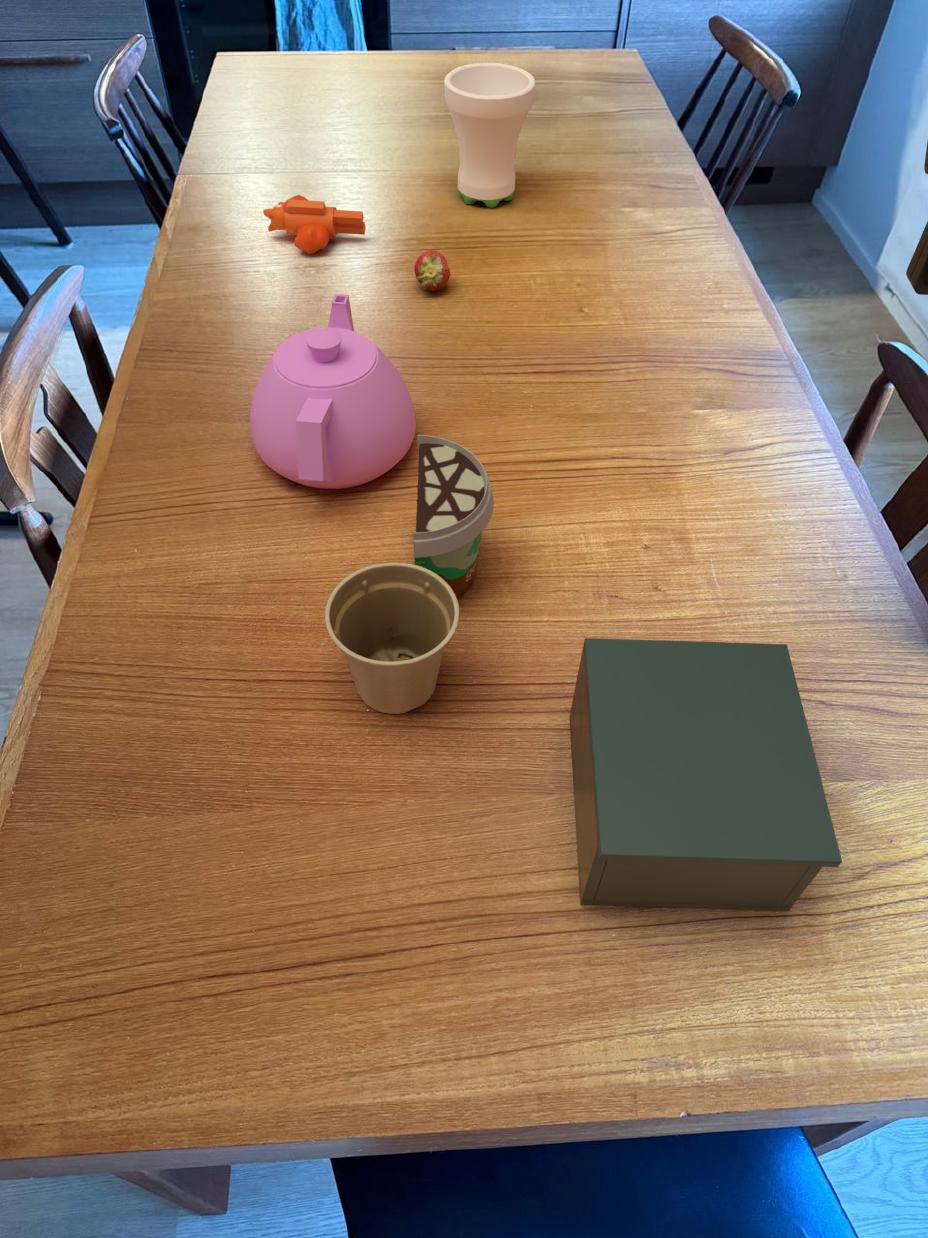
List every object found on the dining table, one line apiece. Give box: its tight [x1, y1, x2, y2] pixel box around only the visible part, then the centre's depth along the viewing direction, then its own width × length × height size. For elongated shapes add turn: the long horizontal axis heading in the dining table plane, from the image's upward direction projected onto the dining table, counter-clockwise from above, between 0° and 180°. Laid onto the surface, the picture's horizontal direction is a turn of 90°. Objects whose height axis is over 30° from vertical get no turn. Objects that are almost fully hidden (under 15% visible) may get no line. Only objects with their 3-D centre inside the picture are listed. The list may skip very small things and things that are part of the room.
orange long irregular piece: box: [262, 194, 366, 255], centre depth 110 cm, size 5×8×12 cm
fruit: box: [413, 249, 451, 292], centre depth 104 cm, size 4×6×5 cm
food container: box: [412, 434, 495, 600], centre depth 73 cm, size 12×6×10 cm, turn 0°
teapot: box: [249, 293, 417, 490], centre depth 82 cm, size 22×16×12 cm
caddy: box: [569, 645, 823, 912], centre depth 60 cm, size 15×14×9 cm
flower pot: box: [324, 561, 460, 715], centre depth 66 cm, size 9×9×9 cm
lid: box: [583, 637, 843, 868], centre depth 56 cm, size 16×14×1 cm
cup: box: [443, 62, 536, 209], centre depth 115 cm, size 11×11×14 cm
